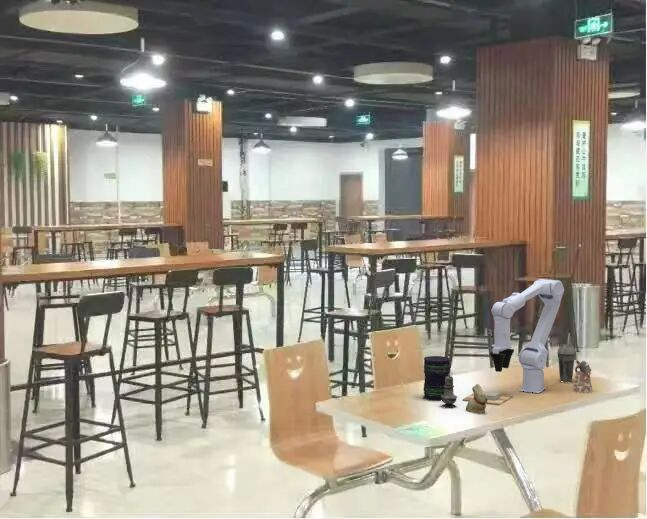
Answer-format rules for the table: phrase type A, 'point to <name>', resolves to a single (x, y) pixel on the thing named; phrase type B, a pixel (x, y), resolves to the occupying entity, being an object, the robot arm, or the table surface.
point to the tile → (492, 395)
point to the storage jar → (435, 376)
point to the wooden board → (493, 402)
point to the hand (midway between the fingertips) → (502, 369)
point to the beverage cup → (566, 361)
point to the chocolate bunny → (477, 401)
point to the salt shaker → (449, 393)
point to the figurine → (582, 378)
